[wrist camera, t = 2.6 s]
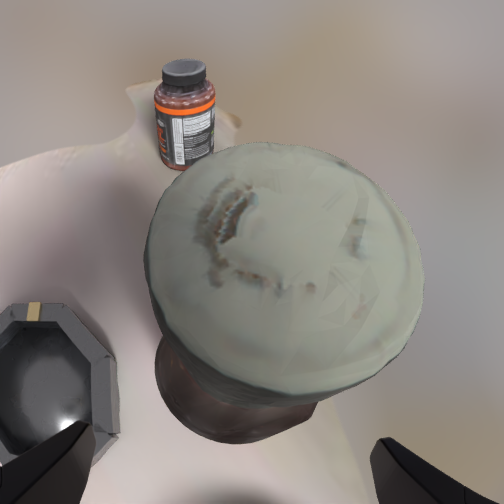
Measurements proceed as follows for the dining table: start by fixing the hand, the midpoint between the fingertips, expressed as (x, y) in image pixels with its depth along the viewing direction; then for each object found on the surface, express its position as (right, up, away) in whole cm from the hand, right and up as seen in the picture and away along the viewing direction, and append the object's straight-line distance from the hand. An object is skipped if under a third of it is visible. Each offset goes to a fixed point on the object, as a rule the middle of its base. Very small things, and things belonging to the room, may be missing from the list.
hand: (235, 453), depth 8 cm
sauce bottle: (-1, -4, +13) cm, 14 cm away
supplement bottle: (-7, +17, +26) cm, 32 cm away
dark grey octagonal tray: (-16, -5, +11) cm, 20 cm away
